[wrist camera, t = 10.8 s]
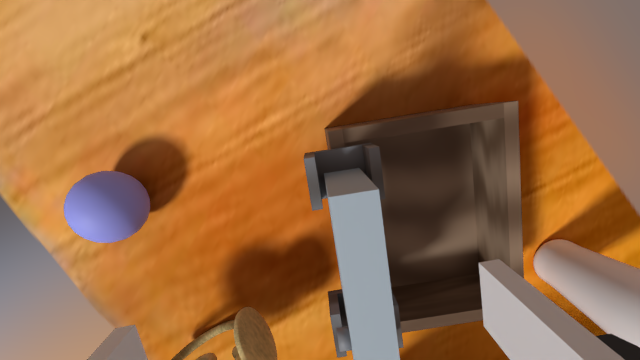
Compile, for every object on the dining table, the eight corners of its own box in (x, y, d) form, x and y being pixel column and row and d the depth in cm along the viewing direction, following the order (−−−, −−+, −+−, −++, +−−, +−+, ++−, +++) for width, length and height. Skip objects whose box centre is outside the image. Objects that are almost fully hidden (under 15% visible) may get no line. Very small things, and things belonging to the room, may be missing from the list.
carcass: (304, 131, 33) (300, 138, 23) (475, 104, 33) (550, 98, 23) (332, 301, 37) (339, 372, 27) (485, 277, 37) (552, 339, 27)
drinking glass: (581, 226, 36) (766, 301, 21) (582, 279, 37) (757, 385, 23) (522, 236, 36) (666, 319, 21) (525, 289, 37) (663, 401, 23)
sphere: (127, 152, 33) (78, 161, 26) (176, 199, 34) (142, 219, 28) (83, 195, 34) (25, 215, 27) (133, 240, 35) (89, 270, 28)
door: (313, 175, 26) (313, 199, 19) (359, 167, 26) (378, 189, 19) (337, 321, 29) (346, 397, 21) (379, 315, 29) (403, 388, 21)
